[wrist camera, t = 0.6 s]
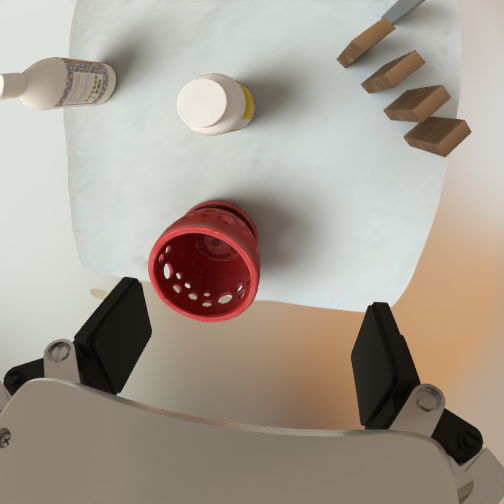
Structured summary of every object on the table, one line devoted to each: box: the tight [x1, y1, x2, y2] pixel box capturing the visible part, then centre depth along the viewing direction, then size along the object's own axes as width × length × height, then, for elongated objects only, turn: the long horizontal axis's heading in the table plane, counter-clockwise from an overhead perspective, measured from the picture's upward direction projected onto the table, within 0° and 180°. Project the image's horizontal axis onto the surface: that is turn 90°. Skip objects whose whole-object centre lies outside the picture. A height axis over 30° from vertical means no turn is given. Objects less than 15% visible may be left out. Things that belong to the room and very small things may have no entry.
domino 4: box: [404, 117, 471, 157], centre depth 26 cm, size 2×5×10 cm, turn 136°
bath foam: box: [0, 57, 116, 110], centre depth 24 cm, size 7×7×20 cm
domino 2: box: [361, 50, 425, 93], centre depth 24 cm, size 2×5×10 cm, turn 136°
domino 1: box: [337, 17, 396, 68], centre depth 23 cm, size 2×5×10 cm, turn 136°
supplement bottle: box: [177, 73, 255, 136], centre depth 27 cm, size 7×7×13 cm
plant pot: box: [148, 201, 260, 322], centre depth 36 cm, size 13×13×12 cm
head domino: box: [381, 0, 425, 24], centre depth 19 cm, size 2×5×10 cm, turn 135°
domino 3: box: [383, 85, 451, 122], centre depth 25 cm, size 2×5×10 cm, turn 136°
